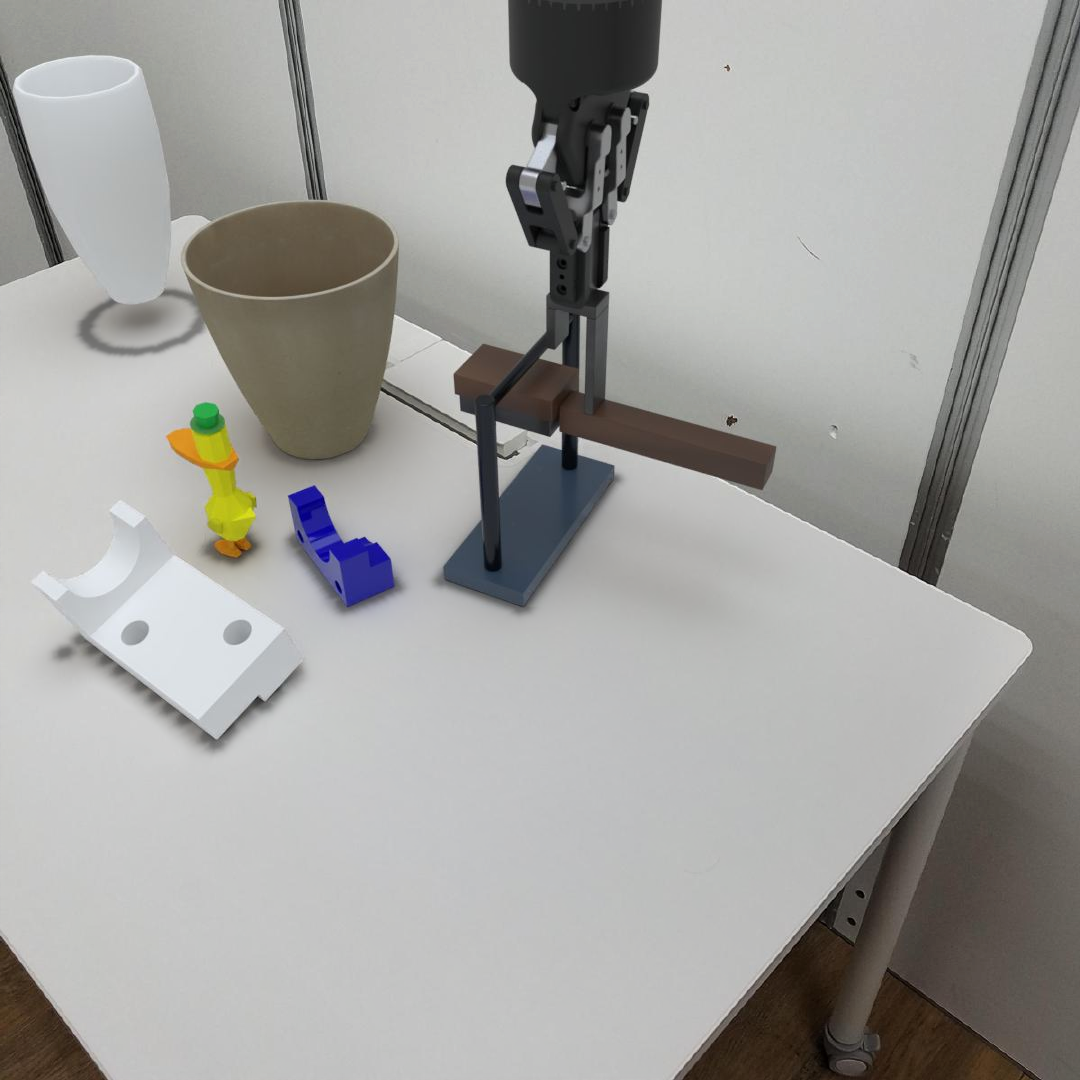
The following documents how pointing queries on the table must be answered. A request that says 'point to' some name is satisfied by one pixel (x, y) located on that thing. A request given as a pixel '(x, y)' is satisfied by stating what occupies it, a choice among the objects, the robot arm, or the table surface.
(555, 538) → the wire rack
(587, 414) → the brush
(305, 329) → the plant pot
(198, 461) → the toy figure
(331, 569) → the cable holder
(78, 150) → the cup
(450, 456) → the table surface
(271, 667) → the bracket
